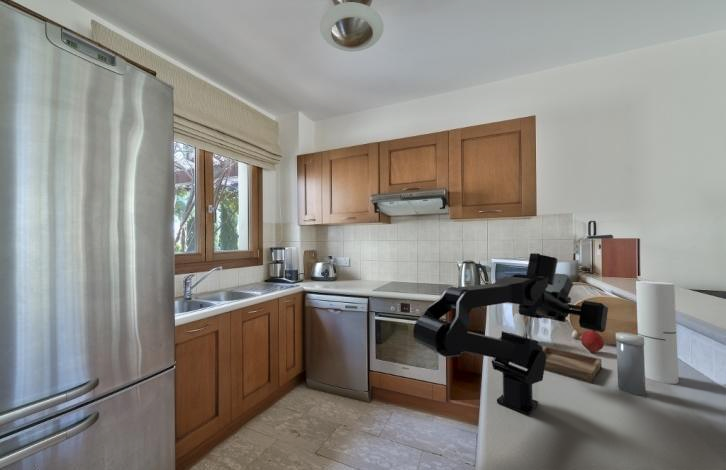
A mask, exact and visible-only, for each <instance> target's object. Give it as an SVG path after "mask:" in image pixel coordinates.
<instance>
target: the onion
mask: <svg viewBox="0 0 726 470" xmlns="http://www.w3.org/2000/svg"><path fill="white" fill-rule="evenodd" d="M580 343H581V345H582V346H583V347H584V348H585V349H586V350H587V351H589V352H590V353H592V354H595V353H597V352H599V351H601V350H602V349H603V348H604V346H605V341H604V339H603V337H602V336H601V335H600V334H599V332H597V331H592V330H587V331H585V332H584V333H582V335H581V339H580Z"/></svg>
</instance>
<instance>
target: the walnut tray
mask: <svg viewBox="0 0 726 470" xmlns="http://www.w3.org/2000/svg"><path fill="white" fill-rule="evenodd" d="M542 347H543V352H544V353H545V355H546V363H545V369H544V371H546V372H550V373H554V374H557V375H560V376H564V377H568V378H571V379H575V380H577V381H582V382H584V383H588V384H590V385H591V384H593V382H594V381H595V379H596V378H597V376H598V375H599V373H600V371H602V359H601V358H598V357H593V356H589V355H585V354H581V353H577V352H572V351H569V350H565V349H561V348H554V347H551V346H547V345H544V346H542Z"/></svg>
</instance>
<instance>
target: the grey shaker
mask: <svg viewBox="0 0 726 470" xmlns="http://www.w3.org/2000/svg"><path fill="white" fill-rule="evenodd" d="M615 341H616V342H615V343H616V363H617V364H616V365H617V367H616V368H617V370H616V371H617V388H618V390H620V391H621V392H624V393H626V394H630V395H632V396H639V397H640V396H641V397H643V396H644V397H645V396H646V394H647V392H646V391H647V390H646V377H645V362H644V337H642V336H639V335H638V334H636V333H635V334H634V333H628V332H615Z"/></svg>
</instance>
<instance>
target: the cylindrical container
mask: <svg viewBox="0 0 726 470" xmlns="http://www.w3.org/2000/svg"><path fill="white" fill-rule="evenodd" d="M635 289H636V290H635V293H636V319H637V335H639V336H642V337H644V362H645V379H647V380H652V381H654V382H657V383H658V382H659V383H662V384H668V385H671V384H672V385H677V384H679V366H678V365H679V364H678V360H679V359H678V341H677V340H678V338H677V337H678V336H677V320H676V318H677V317H676V316H677V315H676V297H675V296H676V295H675V294H676V291H675V283H672V282H667V281H666V282H664V281H654V280H653V281H651V280H636V281H635Z"/></svg>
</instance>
